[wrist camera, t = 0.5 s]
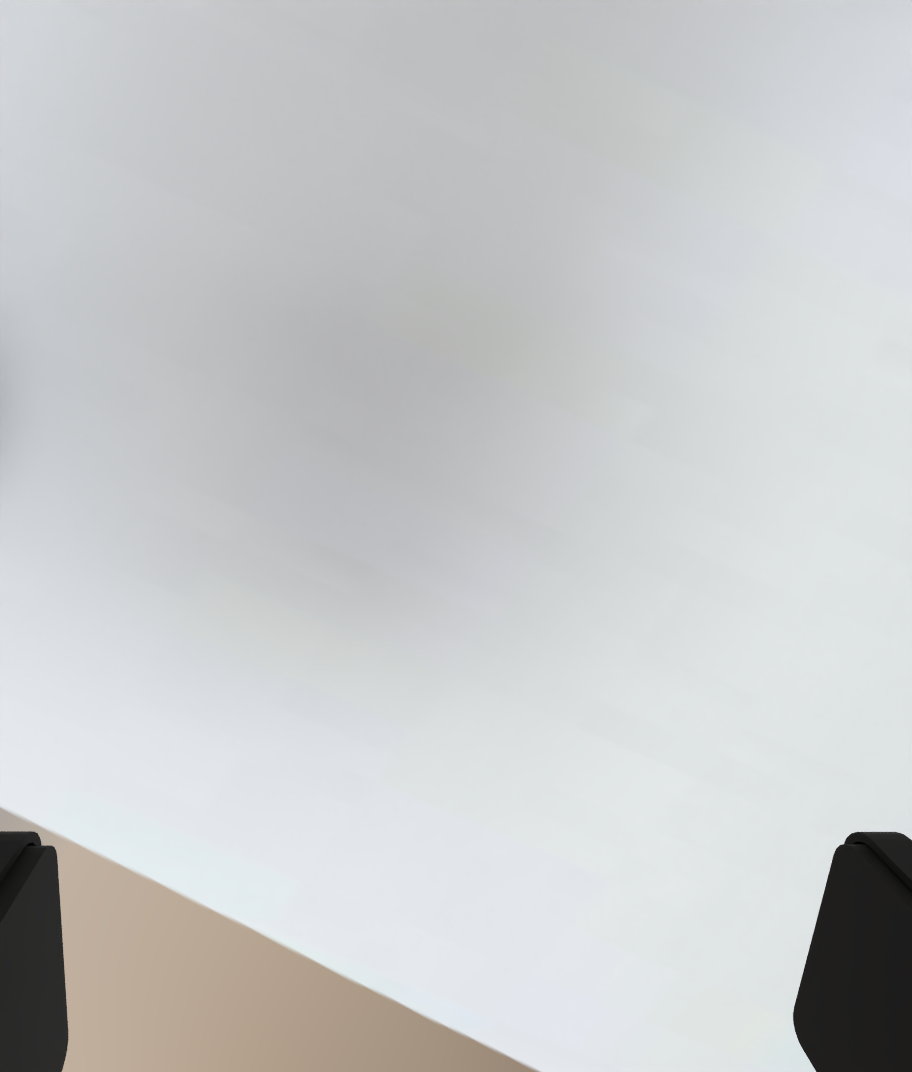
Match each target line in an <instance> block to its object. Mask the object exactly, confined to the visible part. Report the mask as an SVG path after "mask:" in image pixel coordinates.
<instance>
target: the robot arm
mask: <svg viewBox="0 0 912 1072" xmlns="http://www.w3.org/2000/svg"><path fill="white" fill-rule="evenodd" d="M61 927H62V926H61V911H60V895H59V879H58V863H57V853H56V850H55V848H54V847H53V846H41V840H40V837H39V835H38V834H37V833H35V832H0V1072H61V1071H62V1069H63V1065H64V1061H65V1057H66V1051H67V1045H68V1021H67V1005H66V990H65V975H64V958H63V943H62V928H61ZM793 1021H794V1027H795V1032H796V1035H797V1038H798V1041H799V1043H800V1045H801V1047H802V1048H803V1050H804V1052H805V1053H806V1055H807V1057H808V1058H809V1060H810V1062H811V1063H812V1065H813V1067H814V1068H815V1070H816V1072H912V840H911V839H909V838H908V837H907V836H905V835H904V834H901V833H897V832H856V833H852V834H850V835H849V836H848V837H847V838H846V841H845V843H844V845H840V846H839V847H838V848H837V849H836V851H835V853H834V856H833V860H832V864H831V868H830V872H829V875H828V879H827V883H826V887H825V891H824V895H823V899H822V902H821V906H820V910H819V914H818V918H817V922H816V925H815V929H814V933H813V937H812V941H811V945H810V949H809V952H808V956H807V960H806V964H805V968H804V972H803V976H802V979H801V983H800V987H799V991H798V995H797V999H796V1003H795V1006H794V1012H793Z"/></svg>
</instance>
